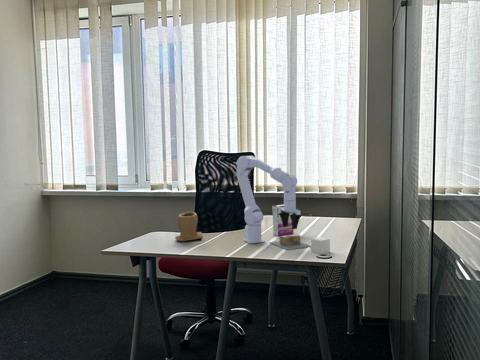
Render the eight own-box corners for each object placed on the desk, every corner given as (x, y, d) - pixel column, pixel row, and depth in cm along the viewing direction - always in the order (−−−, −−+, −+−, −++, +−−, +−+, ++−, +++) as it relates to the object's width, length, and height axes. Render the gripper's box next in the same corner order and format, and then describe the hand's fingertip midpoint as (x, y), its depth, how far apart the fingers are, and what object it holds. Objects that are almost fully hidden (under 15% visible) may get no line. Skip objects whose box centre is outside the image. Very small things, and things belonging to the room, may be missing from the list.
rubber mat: (269, 243, 228) (269, 242, 228) (293, 240, 234) (293, 239, 234) (286, 250, 212) (286, 249, 212) (312, 247, 217) (312, 245, 217)
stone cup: (181, 244, 232) (180, 214, 231) (173, 240, 242) (172, 212, 241) (208, 240, 239) (207, 212, 238) (199, 237, 249) (198, 209, 248)
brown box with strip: (294, 242, 227) (294, 233, 227) (300, 243, 223) (300, 235, 223) (279, 244, 223) (279, 235, 222) (285, 246, 219) (284, 237, 218)
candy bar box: (287, 232, 256) (287, 203, 255) (293, 233, 252) (293, 204, 251) (272, 235, 249) (271, 205, 248) (278, 236, 245) (277, 206, 244)
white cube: (311, 251, 208) (310, 238, 208) (320, 249, 212) (319, 237, 211) (321, 254, 203) (320, 240, 203) (330, 251, 207) (329, 238, 206)
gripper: (274, 199, 226) (274, 226, 227) (291, 202, 213) (292, 230, 214) (286, 198, 229) (286, 225, 230) (303, 201, 217) (304, 229, 218)
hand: (290, 227), depth 222 cm, fingers open, 7 cm apart
